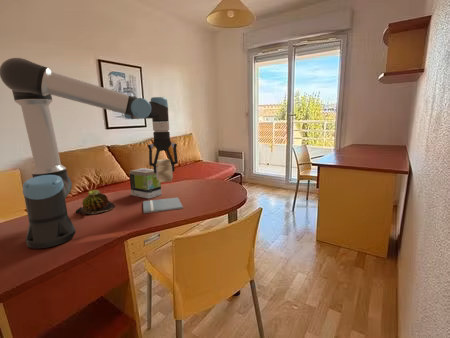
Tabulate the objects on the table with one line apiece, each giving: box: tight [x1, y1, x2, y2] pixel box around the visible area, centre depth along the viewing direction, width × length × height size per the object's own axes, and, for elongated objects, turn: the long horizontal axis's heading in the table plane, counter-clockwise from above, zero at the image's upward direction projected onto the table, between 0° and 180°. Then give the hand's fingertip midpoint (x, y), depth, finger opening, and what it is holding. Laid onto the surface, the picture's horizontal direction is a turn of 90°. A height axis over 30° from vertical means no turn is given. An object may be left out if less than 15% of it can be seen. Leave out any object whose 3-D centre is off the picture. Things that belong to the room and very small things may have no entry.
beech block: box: [156, 158, 173, 183], centre depth 118 cm, size 6×6×10 cm
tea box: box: [128, 167, 162, 200], centre depth 138 cm, size 15×10×15 cm, turn 58°
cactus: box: [75, 189, 116, 215], centre depth 117 cm, size 17×16×10 cm
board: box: [142, 197, 184, 214], centre depth 121 cm, size 18×16×1 cm
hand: (164, 178), depth 119 cm, fingers closed on beech block, 6 cm apart
